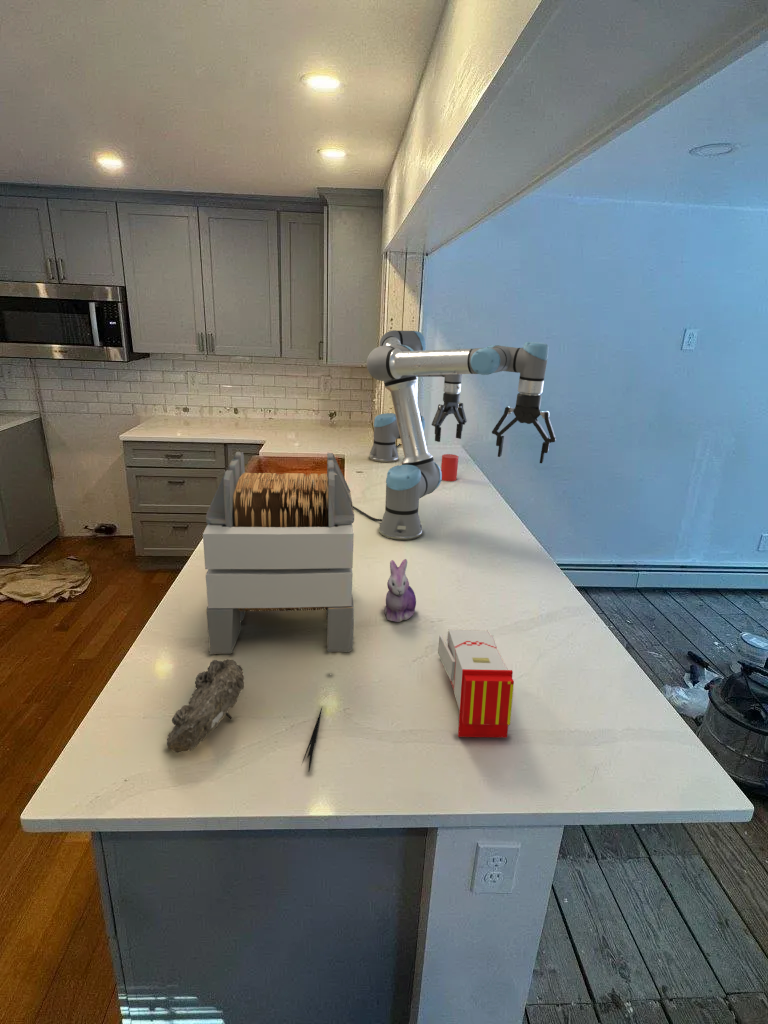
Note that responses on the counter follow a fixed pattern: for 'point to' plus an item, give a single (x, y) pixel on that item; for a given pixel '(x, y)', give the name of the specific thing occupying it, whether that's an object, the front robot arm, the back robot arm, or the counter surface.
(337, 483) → the record crate stand
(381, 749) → the counter surface
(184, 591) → the counter surface
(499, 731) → the toy
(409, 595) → the figurine
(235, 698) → the fossil
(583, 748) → the counter surface
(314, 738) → the feather
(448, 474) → the tin
